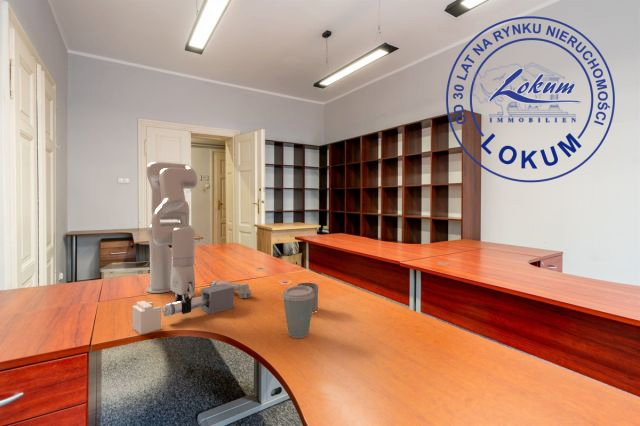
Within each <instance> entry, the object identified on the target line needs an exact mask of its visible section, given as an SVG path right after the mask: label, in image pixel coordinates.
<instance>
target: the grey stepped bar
mask: <svg viewBox="0 0 640 426" xmlns="http://www.w3.org/2000/svg"><path fill="white" fill-rule="evenodd" d="M220 284H226V285H229V286H232V287H234V292H237V294H238V298H239V299H243V298H244V299H249V298H251V297H252V289H250V285H249V283H235V282H227V281H223V280H212V281H211V282H210V284H209V285H210V286H209V287H211V286H216V285H220Z"/></svg>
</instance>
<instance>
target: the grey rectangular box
mask: <svg viewBox="0 0 640 426" xmlns="http://www.w3.org/2000/svg"><path fill="white" fill-rule="evenodd" d="M200 289H201V291H200V292H201V295H200V296H204V295H208V294H209V305H208V306H204V307H200V309H201V311H203V312H205V313H206V314H208V315H213V314H217V313H221V312H223V311H227V310H231V309H234V303H235V301H234V300H235V297H234V296H235V291H234V287H232V286H229V285H226V284H220V285H216V286H211V287H210V286H208V287H203V288H202V287H201V288H200Z"/></svg>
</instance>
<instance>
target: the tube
mask: <svg viewBox="0 0 640 426" xmlns="http://www.w3.org/2000/svg"><path fill="white" fill-rule="evenodd" d="M182 303H183V301H178V302H176V301H174V302H171V303H166V304H163V305H162V307H161V311H162V314H163V316H164V317H166V318H167V317H169V316H173V315H177V314H182ZM208 305H209V294H208V295H204V296H201V295H200V296H196V297H193V298H192V301H191V311H192V310H196V309H201V307H204V306H208Z"/></svg>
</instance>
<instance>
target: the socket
mask: <svg viewBox="0 0 640 426" xmlns="http://www.w3.org/2000/svg"><path fill="white" fill-rule="evenodd" d="M161 329H162V306H156V307H154V301H149V302H147V301H145V300H141V301H136V304H135V305H132V330H135V331H136V332H137V333H139V335H145V334H148V333H151V332H155V331H159V330H161Z"/></svg>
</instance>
